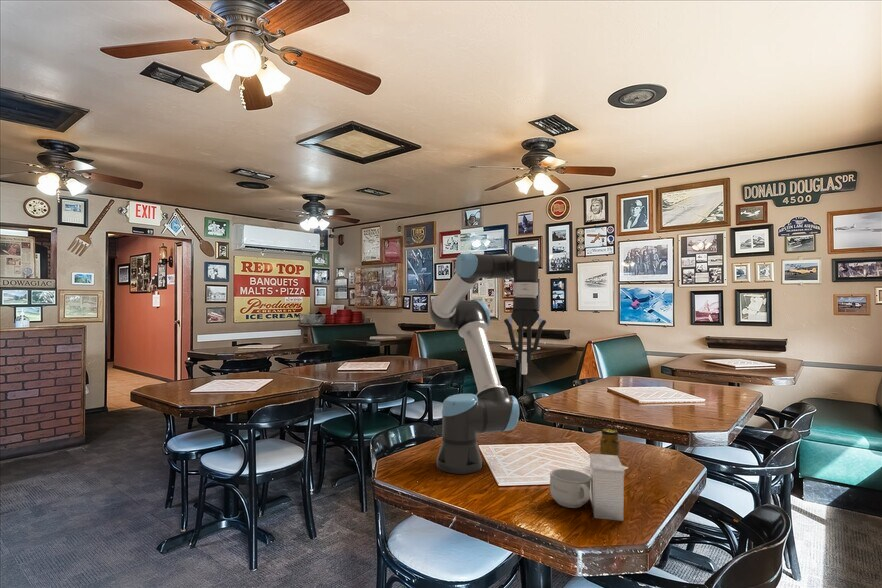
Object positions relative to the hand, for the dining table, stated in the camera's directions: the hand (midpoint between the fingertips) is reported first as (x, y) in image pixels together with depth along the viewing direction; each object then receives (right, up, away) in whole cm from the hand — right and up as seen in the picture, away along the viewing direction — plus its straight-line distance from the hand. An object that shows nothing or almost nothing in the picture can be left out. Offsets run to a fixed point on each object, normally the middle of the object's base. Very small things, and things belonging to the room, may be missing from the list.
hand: (524, 373), depth 141 cm
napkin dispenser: (+18, -33, -18) cm, 42 cm away
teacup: (+10, -33, -16) cm, 38 cm away
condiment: (+32, -34, +15) cm, 49 cm away
